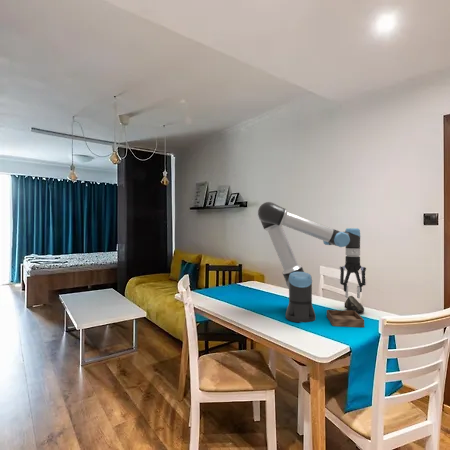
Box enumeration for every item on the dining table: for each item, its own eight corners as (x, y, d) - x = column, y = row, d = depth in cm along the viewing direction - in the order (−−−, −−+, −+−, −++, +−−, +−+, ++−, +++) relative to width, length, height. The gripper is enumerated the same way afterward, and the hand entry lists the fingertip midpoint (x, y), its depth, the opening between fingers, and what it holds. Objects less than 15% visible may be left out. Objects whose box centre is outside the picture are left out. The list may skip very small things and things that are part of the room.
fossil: (368, 312, 158) (358, 296, 159) (352, 320, 160) (342, 303, 160) (362, 307, 169) (353, 291, 170) (347, 314, 170) (338, 298, 171)
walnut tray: (332, 326, 141) (332, 318, 141) (326, 316, 156) (326, 309, 156) (364, 327, 139) (364, 319, 139) (355, 317, 154) (354, 310, 154)
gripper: (336, 256, 162) (336, 298, 162) (372, 256, 160) (372, 300, 159) (333, 254, 170) (333, 295, 170) (368, 255, 167) (368, 296, 167)
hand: (352, 297), depth 164 cm, fingers open, 5 cm apart
